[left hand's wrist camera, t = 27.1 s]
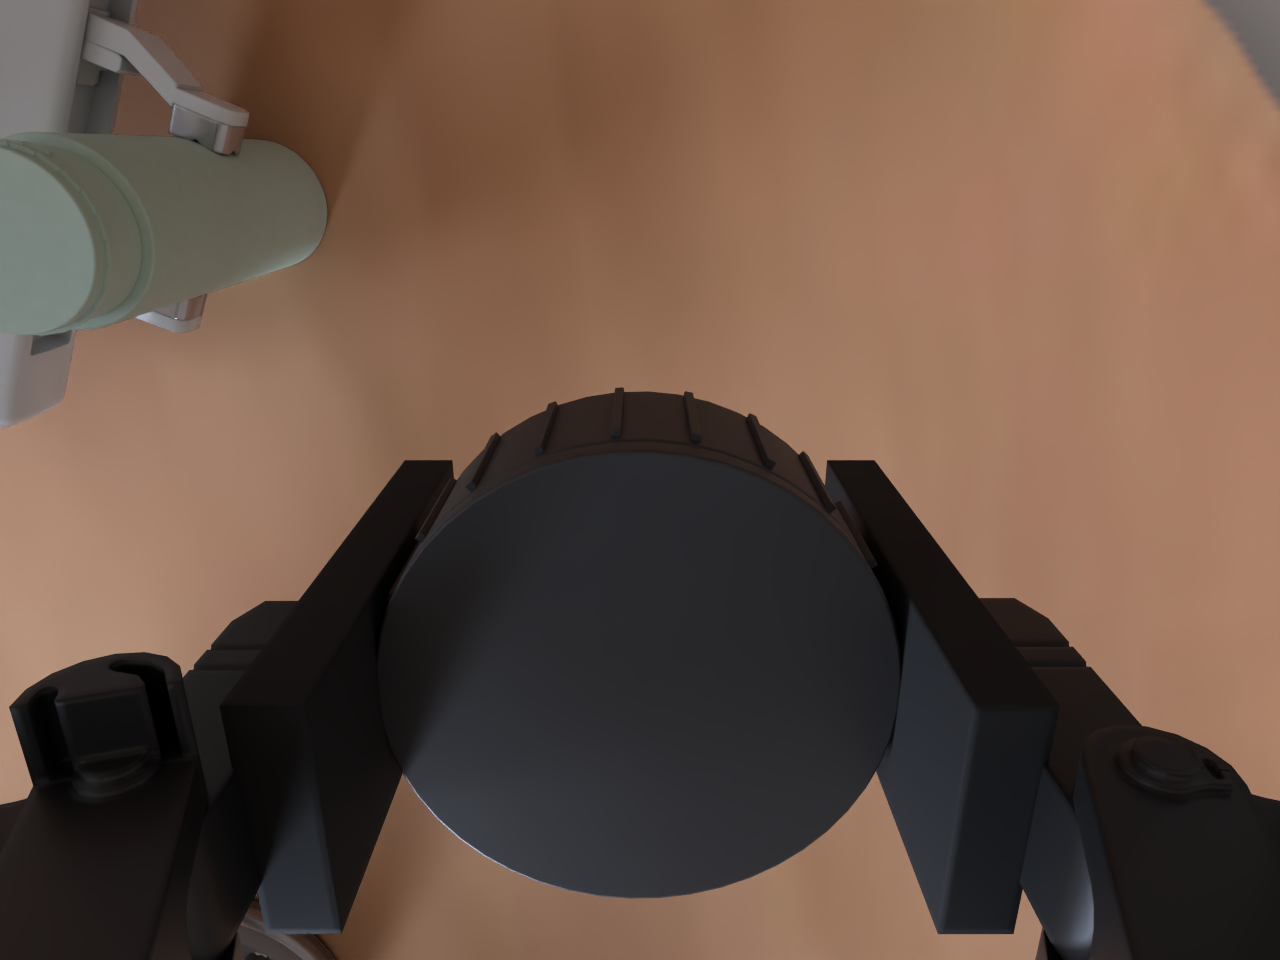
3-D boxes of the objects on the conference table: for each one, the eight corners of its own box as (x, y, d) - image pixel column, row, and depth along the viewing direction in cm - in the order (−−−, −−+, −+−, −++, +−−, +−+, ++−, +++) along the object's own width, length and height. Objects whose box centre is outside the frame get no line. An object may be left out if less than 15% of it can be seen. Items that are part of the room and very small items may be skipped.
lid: (357, 441, 11) (286, 514, 9) (825, 338, 11) (873, 387, 9) (488, 806, 14) (457, 939, 11) (884, 734, 13) (936, 856, 11)
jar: (307, 129, 35) (59, 113, 20) (342, 257, 37) (138, 330, 22) (186, 150, 35) (-149, 148, 20) (226, 276, 37) (-54, 361, 22)
